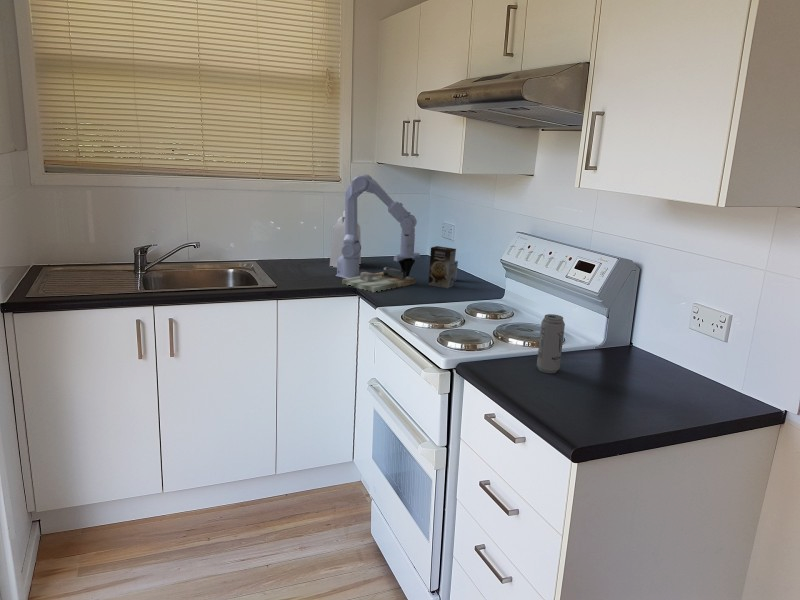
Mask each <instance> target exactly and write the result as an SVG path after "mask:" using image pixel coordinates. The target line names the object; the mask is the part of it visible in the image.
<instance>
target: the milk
mask: <svg viewBox="0 0 800 600" xmlns="http://www.w3.org/2000/svg"><path fill="white" fill-rule="evenodd" d="M357 234H358V237H359V242H360V244H362V243H361V225H360V223H359V222H357ZM344 237H345V210H343V212H342V216H340V217H339V218H337V220H336V223H334V224H333V225H332V228H331V239H330V241H331V242H330V256H329V267H330V266H333V267H332V268H337V261H338V259H339V257H340V256H343V254H342V252H341V248H342V246H343V240H344ZM361 251H362V250H361ZM361 251H360V252H359V256H360V257H359V264H361V265H362V256H361V255H362V254H361V253H362V252H361Z"/></svg>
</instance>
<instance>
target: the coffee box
mask: <svg viewBox="0 0 800 600" xmlns="http://www.w3.org/2000/svg"><path fill="white" fill-rule="evenodd" d="M456 252H457V248H453V247H452V248H451V247H445V246H440V245H439V246H438V245H436V246H432V247H430V257H429V269H428V270H429V272H428V286H431V287H438V288H445V289H449V288H452V287H454V281H453V278H454V266H455V261H456Z"/></svg>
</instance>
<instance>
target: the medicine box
mask: <svg viewBox="0 0 800 600" xmlns="http://www.w3.org/2000/svg"><path fill="white" fill-rule="evenodd" d="M458 264H459V261H458V260H455V266H454V278H453V283H454V282H456V281H457V278H458V266H459V265H458Z"/></svg>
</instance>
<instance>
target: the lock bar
mask: <svg viewBox="0 0 800 600" xmlns="http://www.w3.org/2000/svg"><path fill="white" fill-rule="evenodd" d="M382 272H383V274H384V275H389V276H393V277H397V278H402V279H405V278H406V273H407V272H406V271H402V269H397V268H391V267H390V266H385V267H383V271H382Z"/></svg>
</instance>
